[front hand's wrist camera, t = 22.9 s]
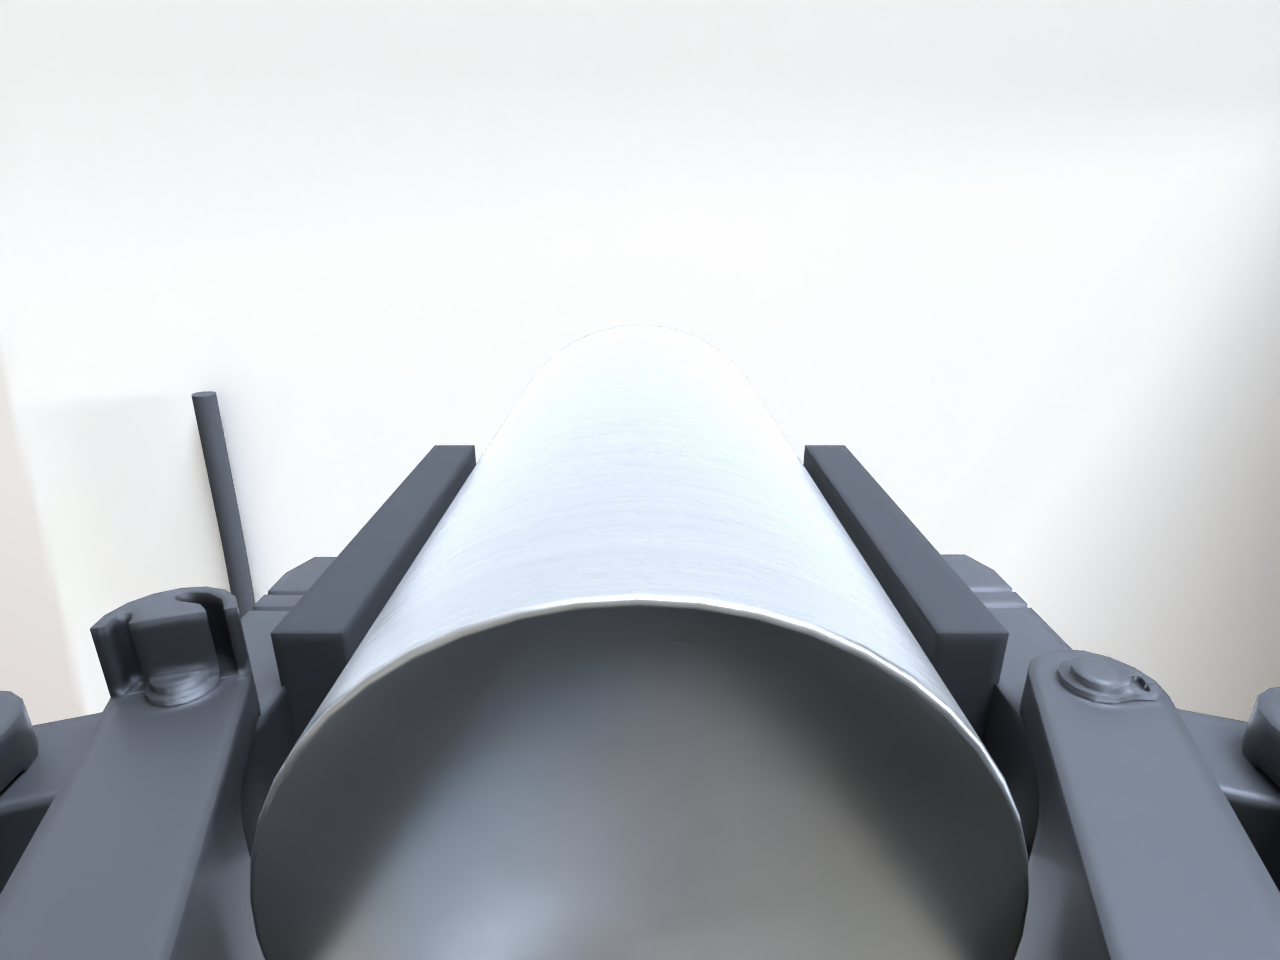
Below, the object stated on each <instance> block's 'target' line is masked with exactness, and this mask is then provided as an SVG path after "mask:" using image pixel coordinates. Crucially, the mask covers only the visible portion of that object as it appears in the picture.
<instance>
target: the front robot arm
mask: <svg viewBox="0 0 1280 960" xmlns="http://www.w3.org/2000/svg"><path fill="white" fill-rule="evenodd" d="M192 400H193V405H194V410H195V415H196V420H197V425H198V430H199V434H200V439H201V444H202V449H203V454H204V459H205V464H206V468H207V473H208V478H209V483H210V488H211V492H212V497H213V502H214V507H215V512H216V517H217V522H218V527H219V532H220V537H221V542H222V547H223V552H224V557H225V562H226V567H227V573H228V578H229V584H230V589H231V593H229V592H228V591H226V590H224V589H217V588H211V587H192V588H179V589H175V590H170V591H165V592H160V593H155V594H152V595H149V596H146V597H143V598H141V599H138V600H135V601H132V602H129V603H127V604H125V605H123V606H121V607H119V608H117V609H115V610H114V611H112V612H110V613H108V614H106V615H104V616H103V617H102V618H101V619H100V620H99V621H98V622H97V623H96V624H95V625H94V626H92V627H91V628H90V631H91V634H92V638H93V641H94V644H95V647H96V651H97V654H98V657H99V660H100V664H101V667H102V670H103V673H104V677H105V680H106V683H107V686H108V690H109V693H110V696H111V698H110V700H109V702H108V704H107V705H106V707H105V709H104V711H103V712H101V713H97V714H92V715H86V716H81V717H76V718H71V719H65V720H60V721H55V722H50V723H44V724H39V725H34V726H32V724H31V722H30V719H29V716H28V713H27V711H26V708H25V705H24V702H23V700H22V699H21V698H20V697H18V696H17V695H15V694H14V693H12V692H9V691H0V960H265V959H264V957H263V954H262V951H261V948H260V945H259V942H258V940H257V937H256V931H255V925H254V919H253V914H252V908H251V902H250V867H251V854H252V849H253V844H254V839H255V834H256V829H257V824H258V818H259V815H260V813H261V810H262V808H263V805H264V803H265V800H266V798H267V795H268V793H269V790H270V788H271V785H272V783H273V780H274V778H275V776H276V775H277V773H278V772H279V770H280V768H281V767H282V765H283V763H284V762H285V760H286V759H287V757H288V755H289V754H290V752H291V751H292V749H293V747H294V746H295V744H296V742H297V741H298V739H299V738H300V736H301V735H302V733H303V732H304V730H305V728H306V727H307V725H308V724H309V722H310V721H311V719H312V718H313V716H314V715H315V713H316V711H317V710H318V708H319V707H320V705H321V704H322V702H323V701H324V699H325V698H326V696H327V695H328V693H329V691H330V690H331V688H332V687H333V685H334V684H335V682H336V681H337V679H338V678H339V676H340V674H341V673H342V671H343V670H344V668H345V667H346V665H347V664H348V662H349V661H350V659H351V657H352V656H353V654H354V653H355V651H356V650H357V648H358V647H359V645H360V644H361V642H362V641H363V639H364V637H365V636H366V634H367V633H368V631H369V630H370V628H371V627H372V625H373V624H374V622H375V620H376V619H377V617H378V616H379V614H380V613H381V611H382V610H383V608H384V607H385V605H386V603H387V602H388V600H389V599H390V597H391V596H392V594H393V593H394V591H395V590H396V588H397V586H398V585H399V583H400V582H401V580H402V579H403V577H404V576H405V574H406V573H407V571H408V570H409V568H410V566H411V565H412V563H413V562H414V560H415V559H416V557H417V556H418V554H419V553H420V551H421V549H422V548H423V546H424V545H425V543H426V542H427V540H428V539H429V537H430V536H431V534H432V532H433V531H434V529H435V528H436V526H437V525H438V523H439V522H440V520H441V519H442V517H443V515H444V514H445V512H446V511H447V509H448V508H449V506H450V505H451V503H452V502H453V500H454V499H455V497H456V495H457V494H458V492H459V491H460V489H461V488H462V486H463V485H464V483H465V482H466V480H467V478H468V477H469V475H470V474H471V472H472V471H473V469H474V468H475V466H476V458H475V446H474V445H435V446H434V447H433V448H432V449H431V451H430V452H429V453H428V454H427V455H426V456H425V457H424V459H423V460H422V461H421V462H420V463H419V464H418V465H417V466H416V468H415V469H414V470H413V471H412V472H411V473H410V474H409V476H408V477H407V478H406V479H405V480H404V481H403V482H402V484H401V485H400V486H399V487H398V488H397V489H396V490H395V492H394V493H393V494H392V495H391V496H390V497H389V498H388V500H387V501H386V502H385V503H384V504H383V505H382V506H381V508H380V509H379V510H378V511H377V512H376V513H375V514H374V516H373V517H372V518H371V519H370V520H369V521H368V522H367V524H366V525H365V526H364V527H363V528H362V529H361V530H360V532H359V533H358V534H357V535H356V536H355V537H354V538H353V539H352V541H351V542H350V543H349V544H348V545H347V546H346V547H345V549H344V550H343V551H342V552H341V553H340V554H339V555H338V557H314V558H312V559H311V560H309V561H307V562H305V563H303V564H301V565H300V566H298V567H296V568H294V569H292V570H290V571H289V572H287V573H285V574H284V575H283V577H282V578H281V579H280V580H279V581H278V582H277V583H276V584H275V585H274V586H273V587H272V588H271V589H270V590H269V591H268V595H264V596H263V597H262V598H261V599H260V600H259V601H258V602H257V603H256V604H255V600H254V594H253V588H252V582H251V576H250V570H249V565H248V559H247V553H246V548H245V542H244V537H243V532H242V526H241V521H240V516H239V510H238V505H237V500H236V495H235V490H234V485H233V480H232V474H231V469H230V464H229V459H228V454H227V449H226V444H225V438H224V433H223V428H222V423H221V418H220V412H219V407H218V402H217V397H216V392H198V393H194V394H192ZM803 466H804V467H805V469H806V470H807V472H808V473H809V475H810V476H811V478H812V479H813V481H814V483H815V484H816V486H817V487H818V489H819V490H820V492H821V493H822V495H823V497H824V498H825V500H826V501H827V503H828V504H829V506H830V507H831V509H832V510H833V512H834V514H835V515H836V517H837V518H838V520H839V521H840V523H841V524H842V526H843V528H844V529H845V531H846V532H847V534H848V535H849V537H850V538H851V540H852V541H853V543H854V545H855V546H856V548H857V549H858V551H859V552H860V554H861V555H862V557H863V559H864V560H865V562H866V563H867V565H868V566H869V568H870V569H871V571H872V572H873V574H874V576H875V577H876V579H877V580H878V582H879V583H880V585H881V586H882V588H883V589H884V591H885V593H886V594H887V596H888V597H889V599H890V600H891V602H892V603H893V605H894V607H895V608H896V610H897V611H898V613H899V614H900V616H901V617H902V619H903V620H904V622H905V624H906V625H907V627H908V628H909V630H910V631H911V633H912V634H913V636H914V638H915V639H916V641H917V642H918V644H919V645H920V647H921V648H922V650H923V651H924V653H925V655H926V656H927V658H928V659H929V661H930V662H931V664H932V665H933V667H934V669H935V670H936V672H937V673H938V675H939V676H940V678H941V679H942V681H943V682H944V684H945V686H946V687H947V689H948V690H949V692H950V693H951V695H952V696H953V698H954V700H955V701H956V703H957V704H958V706H959V707H960V709H961V710H962V712H963V713H964V715H965V717H966V718H967V720H968V721H969V723H970V724H971V726H972V727H973V729H974V730H975V732H976V734H977V735H978V737H979V738H980V740H981V741H982V743H983V745H984V746H985V748H986V749H987V751H988V753H989V754H990V756H991V757H992V759H993V761H994V762H995V764H996V765H997V767H998V769H999V770H1000V772H1001V773H1002V775H1003V777H1004V778H1005V781H1006V783H1007V786H1008V788H1009V791H1010V793H1011V796H1012V798H1013V801H1014V803H1015V806H1016V808H1017V811H1018V813H1019V816H1020V820H1021V825H1022V830H1023V835H1024V839H1025V844H1026V849H1027V854H1028V880H1029V901H1028V907H1027V913H1026V919H1025V925H1024V931H1023V936H1022V939H1021V942H1020V945H1019V948H1018V951H1017V954H1016V956H1015V959H1014V960H1280V687H1277V688H1269V689H1268V690H1266V691H1265V692H1263V693H1261V694H1260V695H1258V697H1257V700H1256V703H1255V706H1254V709H1253V711H1252V714H1251V717H1250V720H1249V722H1244V721H1238V720H1233V719H1228V718H1222V717H1217V716H1212V715H1206V714H1201V713H1196V712H1190V711H1185V710H1181V709H1176V708H1175V706H1174V704H1173V702H1172V700H1171V699H1170V697H1169V696H1168V695H1167V693H1166V692H1165V691H1164V690H1163V689H1162V688H1161V687H1160V686H1159V684H1158V683H1157V682H1156V681H1154V680H1153V679H1151V678H1150V677H1148V676H1147V675H1145V674H1143V673H1142V672H1140V671H1139V670H1137V669H1136V668H1134V667H1131V666H1129V665H1127V664H1124V663H1122V662H1120V661H1117V660H1115V659H1112V658H1110V657H1106V656H1102V655H1098V654H1094V653H1090V652H1086V651H1079V650H1072V649H1071V648H1070V647H1069V646H1068V645H1067V644H1066V643H1065V642H1064V641H1063V640H1062V639H1061V638H1060V637H1059V636H1058V635H1057V634H1056V633H1055V632H1054V631H1053V630H1052V629H1051V628H1050V627H1049V626H1048V625H1047V624H1046V623H1045V622H1044V621H1043V620H1042V619H1041V618H1040V617H1039V615H1038V614H1037V613H1036V612H1035V611H1034V610H1033V609H1032V608H1027V603H1026V602H1025V601H1024V600H1023V599H1022V598H1021V597H1020V596H1019V595H1018V594H1017V593H1016V592H1012V588H1011V587H1010V586H1009V585H1008V584H1007V583H1006V582H1005V581H1004V580H1003V579H1002V578H1001V577H1000V576H999V575H998V574H997V573H996V572H995V571H994V570H992V569H991V568H989V567H987V566H985V565H983V564H981V563H979V562H978V561H976V560H974V559H972V558H970V557H968V556H967V555H940V554H939V553H938V551H937V550H936V549H935V548H934V547H933V546H932V545H931V543H930V542H929V541H928V540H927V539H926V538H925V537H924V536H923V534H922V533H921V532H920V531H919V530H918V529H917V528H916V526H915V525H914V524H913V523H912V522H911V521H910V520H909V518H908V517H907V516H906V515H905V514H904V513H903V512H902V510H901V509H900V508H899V507H898V506H897V505H896V504H895V502H894V501H893V500H892V499H891V498H890V497H889V496H888V494H887V493H886V492H885V491H884V490H883V489H882V488H881V486H880V485H879V484H878V483H877V482H876V481H875V480H874V478H873V477H872V476H871V475H870V474H869V473H868V472H867V470H866V469H865V468H864V467H863V466H862V465H861V464H860V462H859V461H858V460H857V459H856V458H855V457H854V456H853V454H852V453H851V452H850V451H849V450H848V449H847V448H846V447H845V445H805V452H804V464H803Z"/></svg>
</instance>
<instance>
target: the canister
mask: <svg viewBox="0 0 1280 960" xmlns="http://www.w3.org/2000/svg"><path fill="white" fill-rule="evenodd" d="M1028 901H1029V880H1028V854H1027V849H1026V844H1025V839H1024V835H1023V830H1022V825H1021V820H1020V816H1019V813H1018V811H1017V808H1016V806H1015V803H1014V801H1013V798H1012V796H1011V793H1010V791H1009V788H1008V786H1007V783H1006V781H1005V778H1004V777H1003V775H1002V773H1001V772H1000V770H999V769H998V767H997V765H996V764H995V762H994V761H993V759H992V757H991V756H990V754H989V753H988V751H987V749H986V748H985V746H984V745H983V743H982V741H981V740H980V738H979V737H978V735H977V734H976V732H975V730H974V729H973V727H972V726H971V724H970V723H969V721H968V720H967V718H966V717H965V715H964V713H963V712H962V710H961V709H960V707H959V706H958V704H957V703H956V701H955V700H954V698H953V696H952V695H951V693H950V692H949V690H948V689H947V687H946V686H945V684H944V682H943V681H942V679H941V678H940V676H939V675H938V673H937V672H936V670H935V669H934V667H933V665H932V664H931V662H930V661H929V659H928V658H927V656H926V655H925V653H924V651H923V650H922V648H921V647H920V645H919V644H918V642H917V641H916V639H915V638H914V636H913V634H912V633H911V631H910V630H909V628H908V627H907V625H906V624H905V622H904V620H903V619H902V617H901V616H900V614H899V613H898V611H897V610H896V608H895V607H894V605H893V603H892V602H891V600H890V599H889V597H888V596H887V594H886V593H885V591H884V589H883V588H882V586H881V585H880V583H879V582H878V580H877V579H876V577H875V576H874V574H873V572H872V571H871V569H870V568H869V566H868V565H867V563H866V562H865V560H864V559H863V557H862V555H861V554H860V552H859V551H858V549H857V548H856V546H855V545H854V543H853V541H852V540H851V538H850V537H849V535H848V534H847V532H846V531H845V529H844V528H843V526H842V524H841V523H840V521H839V520H838V518H837V517H836V515H835V514H834V512H833V510H832V509H831V507H830V506H829V504H828V503H827V501H826V500H825V498H824V497H823V495H822V493H821V492H820V490H819V489H818V487H817V486H816V484H815V483H814V481H813V479H812V478H811V476H810V475H809V473H808V472H807V470H806V469H805V467H804V466H803V464H802V462H801V461H800V459H799V458H798V456H797V455H796V453H795V452H794V450H793V448H792V447H791V445H790V444H789V442H788V441H787V439H786V438H785V436H784V435H783V433H782V431H781V430H780V428H779V427H778V425H777V424H776V422H775V421H774V419H773V418H772V416H771V414H770V413H769V411H768V410H767V408H766V407H765V405H764V404H763V402H762V400H761V399H760V397H759V396H758V394H757V393H756V391H755V390H754V388H753V387H752V385H751V383H750V382H749V380H748V379H747V378H746V376H745V375H744V374H743V373H742V372H741V370H740V369H739V368H738V367H737V366H736V365H735V364H734V363H733V362H732V361H731V360H730V359H729V358H728V357H726V356H725V355H724V354H723V353H722V352H720V351H719V350H717V349H716V348H714V347H713V346H711V345H710V344H708V343H706V342H704V341H702V340H700V339H698V338H696V337H694V336H692V335H689V334H686V333H683V332H680V331H678V330H674V329H669V328H664V327H659V326H646V325H633V326H620V327H616V328H611V329H606V330H602V331H599V332H596V333H593V334H590V335H588V336H585V337H583V338H581V339H579V340H577V341H575V342H573V343H571V344H570V345H568V346H567V347H565V348H564V349H562V350H561V351H560V352H558V353H557V354H555V355H554V356H553V357H552V358H551V359H550V360H549V361H548V362H547V363H545V364H544V365H543V366H542V368H541V369H540V370H539V371H538V372H537V374H536V375H535V376H534V377H533V378H532V380H531V381H530V383H529V384H528V386H527V387H526V389H525V390H524V392H523V394H522V395H521V397H520V398H519V400H518V401H517V403H516V404H515V406H514V407H513V409H512V411H511V412H510V414H509V415H508V417H507V418H506V420H505V421H504V423H503V424H502V426H501V428H500V429H499V431H498V432H497V434H496V435H495V437H494V438H493V440H492V441H491V443H490V445H489V446H488V448H487V449H486V451H485V452H484V454H483V455H482V457H481V458H480V460H479V461H478V463H477V465H476V466H475V468H474V469H473V471H472V472H471V474H470V475H469V477H468V478H467V480H466V482H465V483H464V485H463V486H462V488H461V489H460V491H459V492H458V494H457V495H456V497H455V499H454V500H453V502H452V503H451V505H450V506H449V508H448V509H447V511H446V512H445V514H444V515H443V517H442V519H441V520H440V522H439V523H438V525H437V526H436V528H435V529H434V531H433V532H432V534H431V536H430V537H429V539H428V540H427V542H426V543H425V545H424V546H423V548H422V549H421V551H420V553H419V554H418V556H417V557H416V559H415V560H414V562H413V563H412V565H411V566H410V568H409V570H408V571H407V573H406V574H405V576H404V577H403V579H402V580H401V582H400V583H399V585H398V586H397V588H396V590H395V591H394V593H393V594H392V596H391V597H390V599H389V600H388V602H387V603H386V605H385V607H384V608H383V610H382V611H381V613H380V614H379V616H378V617H377V619H376V620H375V622H374V624H373V625H372V627H371V628H370V630H369V631H368V633H367V634H366V636H365V637H364V639H363V641H362V642H361V644H360V645H359V647H358V648H357V650H356V651H355V653H354V654H353V656H352V657H351V659H350V661H349V662H348V664H347V665H346V667H345V668H344V670H343V671H342V673H341V674H340V676H339V678H338V679H337V681H336V682H335V684H334V685H333V687H332V688H331V690H330V691H329V693H328V695H327V696H326V698H325V699H324V701H323V702H322V704H321V705H320V707H319V708H318V710H317V711H316V713H315V715H314V716H313V718H312V719H311V721H310V722H309V724H308V725H307V727H306V728H305V730H304V732H303V733H302V735H301V736H300V738H299V739H298V741H297V742H296V744H295V746H294V747H293V749H292V751H291V752H290V754H289V755H288V757H287V759H286V760H285V762H284V763H283V765H282V767H281V768H280V770H279V772H278V773H277V775H276V776H275V778H274V780H273V783H272V785H271V788H270V790H269V793H268V795H267V798H266V800H265V803H264V805H263V808H262V810H261V813H260V815H259V818H258V824H257V829H256V834H255V839H254V844H253V849H252V854H251V867H250V902H251V908H252V914H253V919H254V925H255V931H256V937H257V940H258V942H259V945H260V948H261V951H262V954H263V957H264V959H265V960H1014V959H1015V956H1016V954H1017V951H1018V948H1019V945H1020V942H1021V939H1022V936H1023V931H1024V925H1025V919H1026V913H1027V907H1028Z"/></svg>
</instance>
